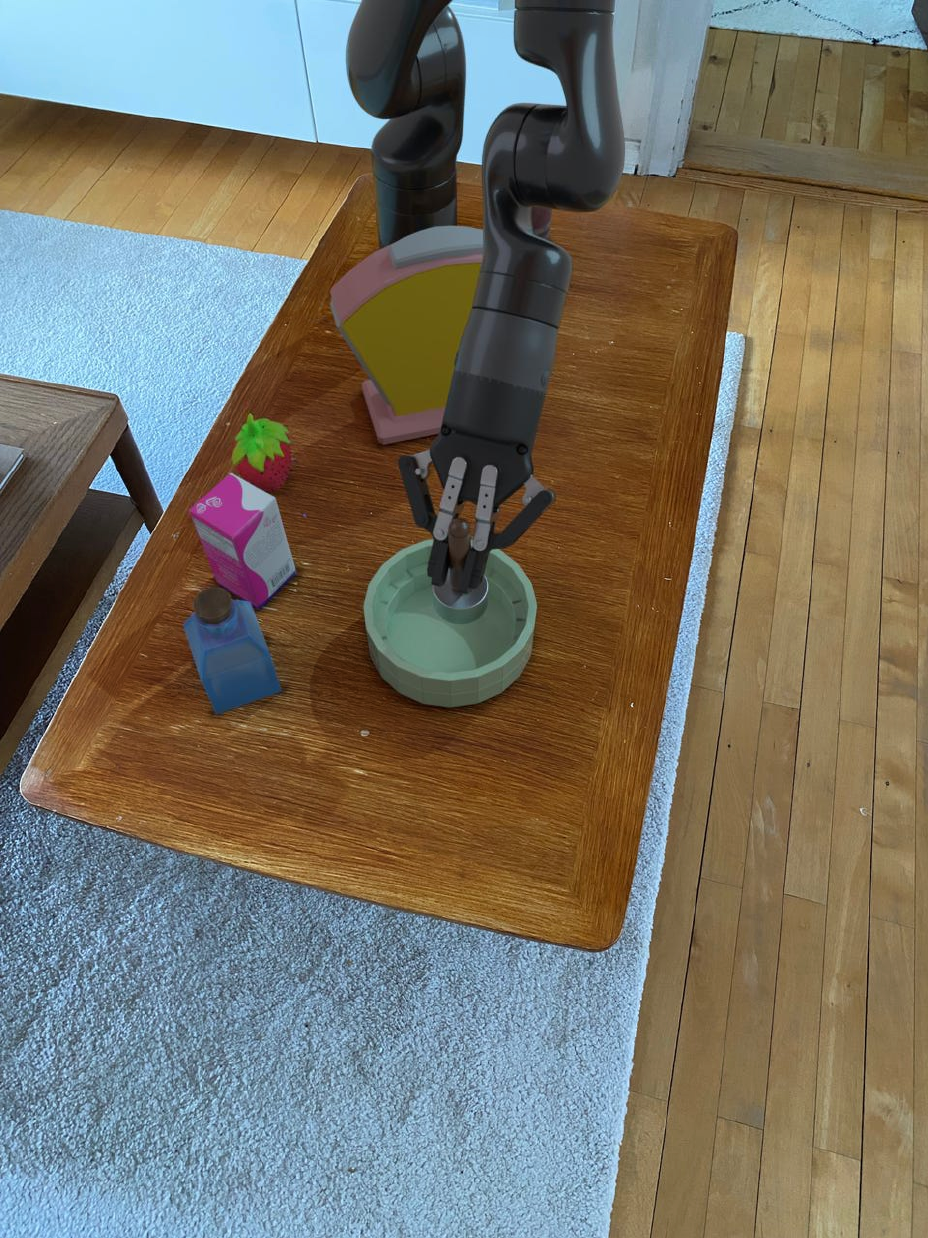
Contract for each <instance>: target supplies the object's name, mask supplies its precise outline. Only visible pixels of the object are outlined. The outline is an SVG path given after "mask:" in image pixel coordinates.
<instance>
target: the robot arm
mask: <svg viewBox="0 0 928 1238" xmlns="http://www.w3.org/2000/svg"><path fill="white" fill-rule="evenodd" d="M453 1H454V0H361V1H360V3H359V6H358V8H357V11H356V13H355V15H354V17H353V20H352V22H351V25H350V27H349V28H350V29H349V31H348V35H347V39H346V45H345V70H346V78H347V81H348V86H349V89H350V92H351V94H352V96H353V98H354V100H355V102H356V103H357V105H358V106H359V108H361V110H363V111H364V112H365V113H366V114H367V115H369V116H371V117H373V118H376V119H378V120H379V119H380V120H387V121H386V122H385V124H383V126H381V127H380V129H378V131H377V132H376V134H375V135H374V137H373V139H372V141H371V142H372V143H371V149H370V154H371V155H370V156H371V167H372V169H371V170H372V181H373V189H374V190H373V191H374V203H375V214H376V228H377V238H378V239H377V240H378V241H377V242H378V250H380V249H382V248H384V247H387V246H389V245H391V244H393V243H395V242H397V241H399V240H401V239H402V238H404V237H406V236H409V235H411V234H414V233H416V232H419V231H421V230H425V229H429V228H432V227H437V226H458V174H457V173H458V169H457V167H458V166H457V165H458V154H459V152H460V150H461V146H462V144H463V140H464V139H463V138H464V125H465V123H464V122H465V121H464V120H465V105H466V103H465V102H466V87H467V57H466V48H465V40H464V36H463V32H462V29H461V27H460V23H459V21H458V18H457V17H456V15H455V13H454V12H453V10H452V8H451V7H450V6H449V5H451V3H453ZM616 2H617V1H616V0H514V9H515V10H513V11H514V12H513V33H512V34H513V46H514V50H515V53H516V55H518V57H519V58H520V59H522V60H523V61H525V62H527V63H528V64H532V65H534V66H537V67H540V68H543V69H546V70H549V71H551V72H552V73H554V74H555V75H556V76H557V79H558V80H559V83H560V86H561V89H562V92H563V95H564V99H565V105H564V104H563V105H562V104H548V103H535V102H517V103H513V104H510V105H508V106H506V107H505V108H504V109H502V111H500V112H499V114H498V115H497V116H496V117H495V119H494V120H493V121H492V123H491V124H490V127H489V129H488V131H487V133H486V136H485V139H484V143H483V147H482V152H481V188H482V189H481V190H482V230H483V257H482V263H481V267H480V271H479V276H478V281H477V285H476V290H475V294H474V299H473V303H472V309H471V310H470V314H469V317H468V320H467V323H466V326H465V328H464V331H463V334H462V337H461V341H460V345H459V349H458V352H457V353H456V357H455V361H454V365H455V367H454V372H453V376H452V381H451V385H450V389H449V394H448V398H447V403H446V407H445V411H444V416H443V420H442V425H441V430H440V433H439V434H437V437H435V439H434V440H433V441H432V442H431V444H430V447H429V449H427V450H424V451H421V452H417V453H414V454H404V455H401V456H400V457H399V458H398V461H397V464H398V465H397V466H398V469H399V472H400V475H401V479H402V482H403V486H404V489H405V492H406V496H407V499H408V503H409V506H410V510H411V514H412V517H413V521H414V523H415V525H416V526H417V527H419V528H423V529H424V530H426V531H427V532H428V533H429V534H431V536H432V539H433V545H432V549H431V554H430V559H429V563H428V567H427V574H428V576H429V577H432V582H431V584H432V585H435V586H438V587H441V586H443V585H444V584H445V582H446V579H447V574H448V570H449V539H448V527H449V524H450V523H451V521H452V520H454V519H456V518H461V514H462V512H463V511H464V508H465V504H466V502H469V503H470V502H471V503H472V504H474V505H476V510H475V517H474V519H475V525H474V530H473V537H472V540H473V542H472V545H473V547H472V548H471V549H469V550H468V554H467V559H466V563H465V567H464V571H463V576H462V580H461V584H460V588H459V592H460V593H463V594H467V595H468V594H469V593H471V592H472V590H473V589H476V588H478V587H479V586H480V584H481V583H482V581H483V577H484V573H485V569H486V565H487V561H488V556H489V553H490V551H491V550H493V549H499V550H505V549H507V548H509V547H511V546H513V545H515V543H517V541H519V539H521V537H522V536H523V535H524V534H525V533H526V532H527V531H528V530H529V529H530V528H531V527H532V526H533V525H534V523H536V521H537V520H538V519H539V518H540V517H541V516H542V515H543V514H544V513H545V512H546V511H547V510H548V509H549V508H550V507H551V506H552V505H553V504H554V503H555V501H556V500H557V494H556V492H555V491H554V490H553V489H549V488H547V487H546V486H545V485H544V484H543V483H542V482H541V481H540V480H539V479H537V478H536V477H535V475H534V472H535V467H534V463H533V458H532V457H533V456H532V455H533V449H534V445H535V441H536V436H537V433H538V428H539V424H540V421H541V416H542V412H543V408H544V406H545V405H544V404H545V400H546V397H547V392H548V388H549V384H550V381H551V377H552V372H553V368H554V363H555V358H556V352H557V351H556V350H557V342H558V335H559V329H560V326H561V324H562V318H563V315H564V309H565V306H566V302H567V298H568V293H569V289H570V285H571V282H572V276H573V271H574V269H573V268H574V262H573V261H574V260H573V258H572V256H571V254H570V252H569V251H568V250H567V249H565V248H564V247H563V246H561V245H559V244H557V243H555V242H553V241H550V240H549V241H548V240H546V239H543V238H541V237H538V236H536V235H535V234H534V230H533V224H532V210H533V207H541V208H549V209H552V210H557V211H558V210H559V211H565V212H573V213H581V214H582V213H593V212H596V211H599V210H600V209H601V208H603V207H604V206H605V205H607V204H608V202H609V201H610V200H611V198H613V196H614V195H615V193H616V191H617V189H618V187H619V186H620V185H619V184H620V182H621V179H622V176H623V173H624V168H625V161H626V142H625V141H626V140H625V132H624V131H625V130H624V126H623V125H624V124H623V118H622V112H621V106H620V98H619V91H618V90H619V89H618V80H617V71H616V70H617V69H616V61H615V50H614V22H615V14H614V13H615V12H616ZM432 464H433V467H434V469H435V472H436V474H437V477H438V479H439V482H440V484H441V487H442V489H443V492H442V496H441V499H440V503H439V507H438V510H439V511H438V514H436V510H435V506H434V503H433V500H432V496H431V493H430V490H429V486H428V482H427V478H429V477H430V476H431V466H432ZM523 487H525V492H524V494H523V495H522V498H521V502H522V505H524V507H523V508H522V510H520V512H519V513H518V514H517V515H516V516H515V517H514V518H513V519H512V520H511V521H510V522H509V523H508V524H507V525H506V526H505V528H503V529H502V531H501V532H496V527H497V523H498V520H499V517H500V510H501V505H503V504H504V503H505V502H506V501H508V499H510V498H511V497H512V496H513V495H514V494H515V493H517V492H518V491H519V490H520V489H521V488H523Z"/></svg>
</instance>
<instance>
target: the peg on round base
mask: <svg viewBox="0 0 928 1238" xmlns="http://www.w3.org/2000/svg"><path fill="white" fill-rule="evenodd" d="M448 539H449V570H448V574H447V579H446V582H445V584H444V585H443V586H441V587H438V586H435V585H433V587H432V588H433V604H434V608H435V611H436V612H437V614H438V615H439V616H440V617H441V618H442V619H444V620H446V621H447V622H450V623H454V624H467V623H471V622H473V621H476V620H477V619H479V618H480V617H481V616H482V615H483V614H484V612H485V611H486V609H487V606H488V581H487V579H486V577H485V575H484V577H483V581H482V583H481V584H480V586H479V587H478V588H476V589H473V590H472V592H471V593H469V594H468V595H467V594H463V593H460V592H459V588H460V584H461V580H462V576H463V571H464V567H465V563H466V559H467V554H468V550H469V549H471V540H472V527H471V524H470V522H469V521H468V520H467V519H466V518H462V517H459V518H456V519H454V520H452V521H451V523H450V524H449V527H448Z"/></svg>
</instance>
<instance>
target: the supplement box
mask: <svg viewBox="0 0 928 1238" xmlns="http://www.w3.org/2000/svg"><path fill="white" fill-rule="evenodd" d="M188 513H189V515H190V518H191V520H192V523H193V526H194V529H195V531H196V533H197V536H198V538H199V541H200V543H201V545H202V549H203V550H204V553H205V555H206V556H205V557H206V558H207V561H208V564H209V566H210V568H211V571H212V574H213V576H214V579H215V581H216V584H217V585H218V586H220V587H221V588H222V589H225V590H226V591H227V592H229V593H231V594H233V595H234V596H236V597H237V598H239V600H242V601H247V602H251V605H252V607H253V609H256V610H258V611H259V610H261V609H262V608H263V607H264V606H265V605H266V604H267V603H268V602H270V600H271V599H272V598H273V597H275V595H276V594H278V592H279V591H280V590H281V589H282V588H283V587H285V585H286V584H287V583H288V582H289V581H291V579H292V578H293V577H294V576H295V575H297V570H296V566H295V563H294V559H293V556H292V552H291V549H290V545H289V542H288V538H287V535H286V531H285V527H284V523H283V519H282V517H281V512H280V509H279V505H278V502H277V498H276V497H275V496H273V495H272V494H269V493H267V492H266V491H265V490H261V489H259V487H257V486H255V485H251V483H250V482H249V481H247V480H244V479H243V478H241V476H238V475H236V474H234V473H233V472H229V473H228V474H227V475H226V476H225V477H224V478H223V479H221V480H220V481H219V482H218V483H217V484H216V485H215V486H214V487H213V488H212V489H210V491H209V492H207V493H206V494H205V495H204V496H202V498H200V499H199V500H198V501H197V502H196V503H195V504H194V505H193V506H191V507H190V508H189V509H188Z"/></svg>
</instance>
